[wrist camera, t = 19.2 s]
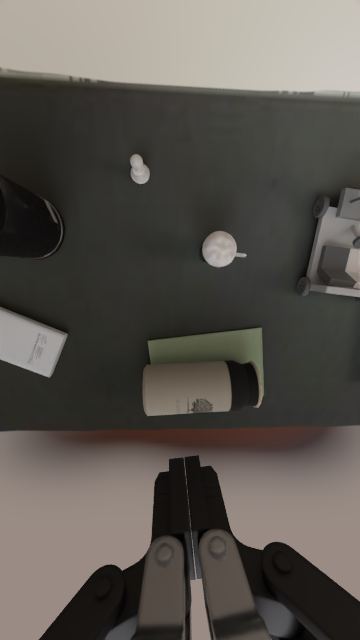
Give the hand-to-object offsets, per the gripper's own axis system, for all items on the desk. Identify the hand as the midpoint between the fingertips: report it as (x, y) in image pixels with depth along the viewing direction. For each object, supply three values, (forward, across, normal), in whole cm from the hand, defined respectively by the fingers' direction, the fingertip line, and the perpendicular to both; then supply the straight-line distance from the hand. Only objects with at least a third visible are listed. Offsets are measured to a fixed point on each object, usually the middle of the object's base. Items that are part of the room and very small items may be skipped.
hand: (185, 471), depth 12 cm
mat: (+31, -6, +8) cm, 33 cm away
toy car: (+31, -29, -11) cm, 44 cm away
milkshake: (+31, -8, -12) cm, 34 cm away
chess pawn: (+31, +2, -24) cm, 40 cm away
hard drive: (+31, +25, -1) cm, 40 cm away
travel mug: (+26, +6, +9) cm, 28 cm away
